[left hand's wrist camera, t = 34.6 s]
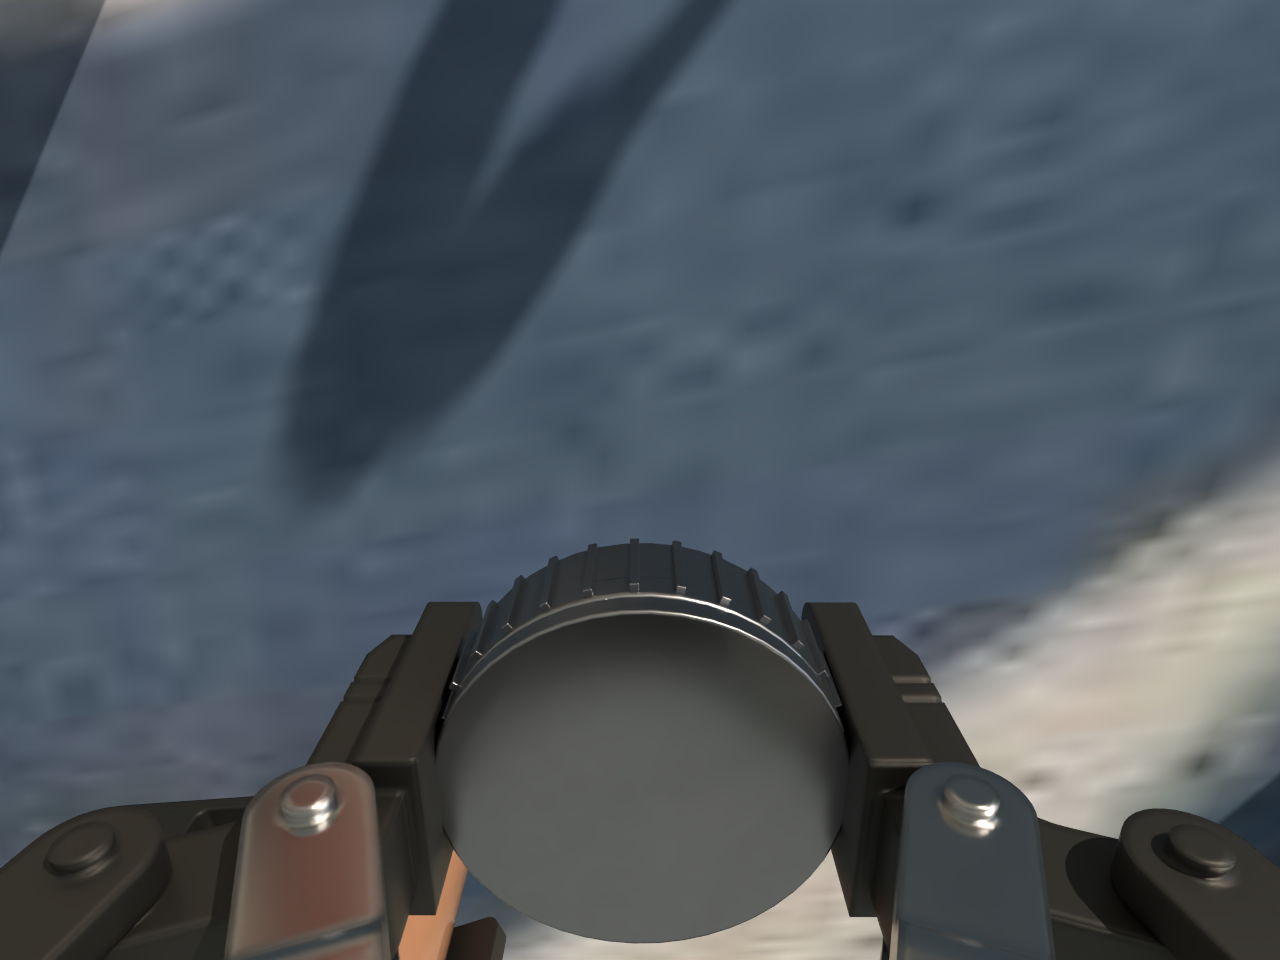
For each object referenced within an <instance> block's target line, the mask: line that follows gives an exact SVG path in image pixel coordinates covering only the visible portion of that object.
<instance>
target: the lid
mask: <svg viewBox="0 0 1280 960" xmlns="http://www.w3.org/2000/svg"><path fill="white" fill-rule="evenodd" d="M449 689H450V690H452V691H451V694H450V697H449V700H448V703H447V706H446V708H445V711H444V714H443V717H442V721H443V725H442V728H441V731H440V734H439V737H438V739H437V744H436V749H435V761H436V771H437V780H438V789H439V798H440V806H441V815H442V823H443V830H444V832H445V834H446V836H447V838H448V840H449V842H450V844H451V846H452V848H453V850H454V851H455V852H456V854H457V855H458V857H459V858H460V860H461V861H462V863H463V864H464V865H465V867H466V868H467V869H468V870H469V871H470V872H471V873H472V874H473V876H474V877H475V878H476V879H477V880H478V881H479V882H480V883H481V884H482V885H483V886H484V887H486V888H487V889H488V890H489V891H490V892H491V893H493V894H494V895H495V896H496V897H497V898H499V899H500V900H502V901H503V902H505V903H506V904H508V905H509V906H511V907H512V908H514V909H515V910H517V911H519V912H520V913H522V914H524V915H526V916H528V917H530V918H532V919H534V920H536V921H538V922H540V923H543V924H545V925H548V926H551V927H553V928H556V929H558V930H561V931H564V932H568V933H572V934H575V935H579V936H583V937H587V938H593V939H598V940H604V941H611V942H624V943H662V942H671V941H680V940H686V939H691V938H696V937H701V936H705V935H709V934H712V933H716V932H719V931H722V930H725V929H728V928H731V927H734V926H736V925H738V924H741V923H743V922H745V921H747V920H750V919H752V918H754V917H756V916H758V915H759V914H761V913H763V912H765V911H767V910H768V909H770V908H772V907H774V906H775V905H776V904H778V903H779V902H781V901H782V900H783V899H785V898H786V897H787V896H789V895H790V894H792V893H793V892H794V891H795V890H796V889H797V888H798V887H799V886H800V885H802V884H803V883H804V882H805V881H806V880H807V879H808V878H809V877H810V876H811V875H812V874H813V872H814V871H815V870H816V869H817V867H818V866H819V865H820V864H821V863H822V861H823V860H824V859H825V857H826V856H827V854H828V852H829V851H830V849H831V848H832V846H833V844H834V843H835V841H836V839H837V837H838V834H839V832H840V830H841V826H842V820H843V812H844V803H845V795H846V786H847V778H848V769H849V759H850V750H849V746H848V742H847V738H846V734H845V731H844V728H843V725H842V723H841V720H840V717H839V715H838V713H840V712H843V705H842V702H841V699H840V697H839V694H838V691H837V689H836V686H835V683H834V681H833V678H832V675H831V673H830V670H829V667H828V664H827V662H826V659H825V656H824V654H823V651H822V650H819V648H818V645H817V643H816V640H815V637H814V634H813V632H812V629H811V626H810V624H809V622H808V621H807V619H804V620H802V621H800V620H799V618H798V616H797V615H796V614H795V613H794V611H793V610H792V608H791V605H790V602H789V599H788V596H787V595H786V594H785V593H784V592H783V591H781V592H780V593H779V594H777V593H776V592H775V591H773V590H772V589H771V588H770V587H769V586H768V585H767V584H765V583H764V582H762V581H761V580H760V579H759V575H758V572H757V571H756V570H754V569H753V568H750V569H749V570H748V571H746V570H744V569H742V568H740V567H738V566H736V565H734V564H732V563H730V562H728V561H726V560H724V559H723V558H722V554H721V553H720V552H717V551H713V553H712V555H710V554H707V553H704V552H701V551H698V550H693V549H689V548H684V547H682V545H681V542H678V541H673V543H672V545H664V544H654V543H639V539H630V544H619V545H612V546H605V547H599V548H598V547H597V544H596V543H595V544H591V545H588V550H587V551H584V552H580V553H576V554H573V555H571V556H569V557H566V558H564V559H561V560H559V559H558V557H557V556H555V557H552V558H550V559H549V563H548V566H546V567H544V568H542V569H541V570H539V571H537V572H535V573H533V574H532V575H530V576H529V577H527V578H526V579H525V578H524V577H523V576H522V575H521V576H519V577H518V578H516V579H515V582H514V586H513V588H512V589H511V590H510V591H509V592H508V593H507V594H506V595H505V596H504V597H503V598H502V599H501V600H500V601H499V602H498V603H496V602H495V601H493V600H492V601H491V602H490V603H489V604H488V606H487V609H486V612H485V615H484V618H483V621H482V624H481V625H480V627H479V629H478V631H477V632H476V631H474V630H472V629H471V630H470V632H469V634H468V637H467V639H466V642H465V645H464V648H463V651H462V653H461V656H460V659H459V662H458V665H457V667H456V670H455V673H454V676H453V679H452V681H451V684H450V687H449Z"/></svg>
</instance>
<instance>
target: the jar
mask: <svg viewBox="0 0 1280 960" xmlns="http://www.w3.org/2000/svg"><path fill="white" fill-rule="evenodd" d="M467 873H468V869H467V868H466V867H465V865H464V864H463V863H462V861H461V860H460V858H459V857H458V855H457V854H456V852H455V851H454V850H453V853H452V857H451V860H450V864H449V868H448V871H447V875H446V879H445V883H444V886H443V890H442V894H441V897H440V901H439V905H438V909H437V912H436V915H409V916H408V919H407V922H406V926H405V929H404V932H403V935H402V939H401V942H400V945H399V955H400V960H446V957H447V953H448V949H449V945H450V941H451V937H452V933H453V929H454V925H455V921H456V917H457V913H458V909H459V905H460V901H461V897H462V893H463V889H464V885H465V881H466V877H467Z"/></svg>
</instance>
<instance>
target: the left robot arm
mask: <svg viewBox="0 0 1280 960" xmlns="http://www.w3.org/2000/svg"><path fill="white" fill-rule="evenodd" d="M804 619H807V621H808V622H809V624H810V626H811V629H812V632H813V634H814V637H815V640H816V643H817V645H818V648H819V650H822V651H823V654H824V656H825V659H826V662H827V664H828V667H829V670H830V673H831V675H832V678H833V681H834V683H835V686H836V689H837V691H838V694H839V697H840V699H841V702H842V705H843V712H840V713H838V715H839V717H840V720H841V723H842V725H843V728H844V731H845V734H846V738H847V742H848V746H849V750H850V759H849V769H848V778H847V786H846V795H845V803H844V812H843V820H842V826H841V830H840V832H839V834H838V837H837V839H836V841H835V843H834V844H833V846H832V848H831V851H832V855H833V858H834V862H835V865H836V869H837V873H838V876H839V880H840V884H841V887H842V891H843V894H844V898H845V902H846V905H847V909H848V913H849V916H850V917H877V918H878V922H879V925H880V928H881V931H882V934H883V941H882V948H881V955H880V960H1280V868H1278V867H1277V866H1276V865H1275V864H1274V863H1272V862H1271V861H1270V860H1269V859H1267V858H1266V857H1265V856H1264V855H1263V854H1261V853H1260V852H1259V851H1258V850H1257V849H1255V848H1254V847H1253V846H1252V845H1250V844H1249V843H1248V842H1246V841H1245V840H1244V839H1242V838H1241V837H1240V836H1238V835H1236V834H1235V833H1233V832H1232V831H1230V830H1228V829H1226V828H1224V827H1222V826H1221V825H1219V824H1217V823H1215V822H1212V821H1210V820H1207V819H1205V818H1203V817H1200V816H1196V815H1193V814H1190V813H1186V812H1182V811H1178V810H1171V809H1147V810H1142V811H1139V812H1136V813H1134V814H1132V815H1131V816H1129V817H1128V818H1127V819H1126V821H1125V822H1124V824H1123V826H1122V829H1121V832H1120V836H1119V839H1115V838H1111V837H1106V836H1102V835H1098V834H1094V833H1089V832H1085V831H1081V830H1077V829H1072V828H1068V827H1064V826H1061V825H1057V824H1054V823H1051V822H1048V821H1045V820H1043V819H1040V818H1038V817H1037V814H1036V811H1035V809H1034V807H1033V805H1032V804H1031V802H1030V801H1029V800H1028V798H1027V797H1026V796H1025V795H1024V794H1023V793H1022V792H1021V791H1020V790H1019V789H1018V788H1017V787H1016V786H1014V785H1013V784H1012V783H1011V782H1009V781H1008V780H1006V779H1004V778H1003V777H1001V776H999V775H997V774H995V773H993V772H991V771H989V770H986V769H983V768H981V767H980V766H979V764H978V762H977V761H976V759H975V757H974V755H973V753H972V752H971V750H970V748H969V746H968V744H967V743H966V741H965V739H964V737H963V735H962V734H961V732H960V730H959V728H958V726H957V725H956V723H955V721H954V719H953V718H952V716H951V714H950V712H949V710H948V709H947V707H946V705H945V703H942V701H941V696H940V694H939V692H938V691H937V689H936V687H935V685H934V684H933V683H931V678H930V676H929V675H928V673H927V671H926V669H925V667H924V666H923V664H922V662H921V660H920V658H919V657H918V655H917V654H915V653H914V652H913V651H912V650H910V649H909V648H908V647H907V646H905V645H904V644H903V643H901V642H900V641H899V640H898V639H896V638H895V637H894V636H872V634H871V632H870V630H869V628H868V626H867V624H866V622H865V620H864V618H863V616H862V614H861V612H860V609H859V607H858V606H857V604H856V603H805V604H804V607H803V611H802V618H801V621H802V620H804ZM482 621H483V617H482V610H481V606H480V604H479V602H429V603H428V604H427V606H426V607H425V609H424V612H423V614H422V616H421V618H420V620H419V622H418V624H417V626H416V628H415V630H414V633H413V635H391V636H390V637H388V638H387V639H386V640H385V641H383V642H382V643H381V644H379V645H378V646H377V647H376V648H374V649H373V650H372V651H371V652H369V653H368V654H367V655H366V657H365V659H364V661H363V662H362V664H361V666H360V668H359V670H358V671H357V673H356V675H355V677H354V682H351V684H350V686H349V688H348V690H347V691H346V693H345V695H344V700H343V702H340V704H339V706H338V708H337V710H336V711H335V713H334V715H333V717H332V719H331V721H330V722H329V724H328V726H327V728H326V730H325V731H324V733H323V735H322V737H321V739H320V741H319V742H318V744H317V746H316V748H315V750H314V751H313V753H312V755H311V757H310V759H309V761H308V762H307V764H306V766H303V767H299V768H297V769H294V770H291V771H289V772H287V773H285V774H283V775H281V776H279V777H277V778H276V779H274V780H272V781H271V782H269V783H268V784H267V785H266V786H264V787H263V788H262V789H261V790H260V791H259V792H258V793H257V794H256V795H255V796H254V797H253V798H252V800H251V801H250V802H249V804H248V805H247V807H246V809H245V811H244V814H243V818H242V819H240V820H237V821H235V822H231V823H228V824H224V825H220V826H216V827H212V828H208V829H204V830H199V831H195V832H191V833H187V834H182V835H178V836H174V837H170V838H164V834H163V831H162V827H161V824H160V822H159V819H158V818H157V817H156V816H155V815H154V814H153V813H151V812H150V811H148V810H145V809H142V808H139V807H132V806H116V807H108V808H103V809H99V810H94V811H91V812H88V813H85V814H82V815H79V816H77V817H74V818H72V819H70V820H67V821H65V822H63V823H61V824H59V825H58V826H56V827H54V828H52V829H51V830H49V831H47V832H46V833H44V834H43V835H41V836H40V837H39V838H37V839H36V840H35V841H33V842H32V843H31V844H30V845H28V846H27V847H26V848H25V849H23V850H22V851H21V852H20V853H19V854H17V855H16V856H15V857H14V858H13V859H11V860H10V861H9V862H8V863H6V864H5V865H4V866H3V867H2V868H0V960H400V955H399V945H400V942H401V939H402V935H403V932H404V929H405V926H406V922H407V919H408V916H409V915H436V912H437V909H438V905H439V901H440V897H441V894H442V890H443V886H444V883H445V879H446V875H447V871H448V868H449V864H450V860H451V857H452V853H453V848H452V846H451V844H450V842H449V840H448V838H447V836H446V834H445V832H444V830H443V823H442V815H441V806H440V798H439V789H438V780H437V771H436V761H435V749H436V744H437V739H438V737H439V734H440V731H441V728H442V725H443V721H442V717H443V714H444V711H445V708H446V706H447V703H448V700H449V697H450V694H451V691H452V690H450V689H449V687H450V684H451V681H452V679H453V676H454V673H455V670H456V667H457V665H458V662H459V659H460V656H461V653H462V651H463V648H464V645H465V642H466V639H467V637H468V634H469V632H470V630H471V629H472V630H474V631H476V632H477V631H478V629H479V627H480V625H481V624H482Z"/></svg>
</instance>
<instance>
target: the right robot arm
mask: <svg viewBox="0 0 1280 960" xmlns="http://www.w3.org/2000/svg"><path fill="white" fill-rule="evenodd" d="M253 797H254V796H252V797H238V798H224V799H209V800H195V801H181V802H167V803H153V804H139V805H124V806H132V807H139V808H142V809H145V810H148V811H150V812H151V813H153V814H154V815H155V816H156V817H157V818H158V819H159V822H160V824H161V827H162V831H163V834H164V838H170V837H174V836H178V835H182V834H187V833H191V832H195V831H199V830H204V829H208V828H212V827H216V826H220V825H224V824H228V823H231V822H235V821H237V820H240V819H242V818H243V814H244V811H245V809H246V807H247V805H248V804H249V802H250V801H251V800H252V798H253ZM505 942H506V935H505V933H504V932H503V930H502V928H501V927H500V925H499V924H498V922H497V921H496V919H495V918H493V917H488V918H484V919H481V920H478V921H474V922H471V923H468V924H465V925H462V926H458V927H455V928H454V929H453V933H452V937H451V941H450V945H449V949H448V953H447V957H446V960H502V959H503V953H504V947H505Z"/></svg>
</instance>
